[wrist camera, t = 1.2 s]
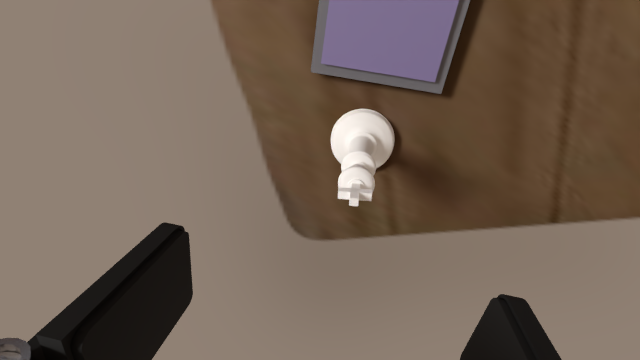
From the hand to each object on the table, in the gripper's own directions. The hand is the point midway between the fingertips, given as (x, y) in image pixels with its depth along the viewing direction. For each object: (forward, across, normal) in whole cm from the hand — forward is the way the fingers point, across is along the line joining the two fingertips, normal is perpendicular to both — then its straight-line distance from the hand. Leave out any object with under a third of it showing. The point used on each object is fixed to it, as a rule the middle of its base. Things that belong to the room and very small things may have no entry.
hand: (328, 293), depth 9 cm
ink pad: (+16, -1, -9) cm, 18 cm away
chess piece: (+16, -1, 0) cm, 16 cm away
